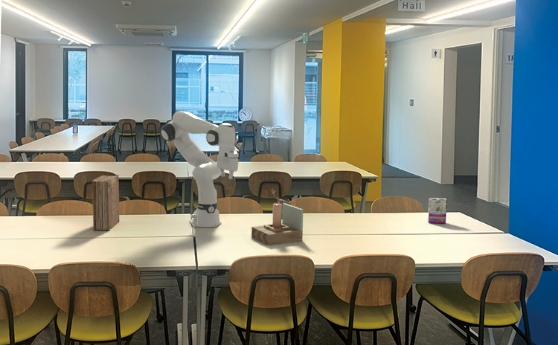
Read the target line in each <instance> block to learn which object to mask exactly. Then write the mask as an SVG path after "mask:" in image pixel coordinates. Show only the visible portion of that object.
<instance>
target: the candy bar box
mask: <svg viewBox="0 0 558 345" xmlns="http://www.w3.org/2000/svg"><path fill="white" fill-rule="evenodd" d="M447 203H448V199H447V198H445V197H444V198H442V197H428V211H427V214H428V216H427V222H428V224H436V225H437V224H439V225H446V223H447V207H448V204H447Z"/></svg>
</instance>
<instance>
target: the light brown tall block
mask: <svg viewBox="0 0 558 345" xmlns="http://www.w3.org/2000/svg"><path fill="white" fill-rule="evenodd" d="M272 211H273V213H272V224H273V226H272V227H273V228H281V223H282V220H281V218H282V204H277V203H275V204H274V203H273V204H272Z"/></svg>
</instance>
